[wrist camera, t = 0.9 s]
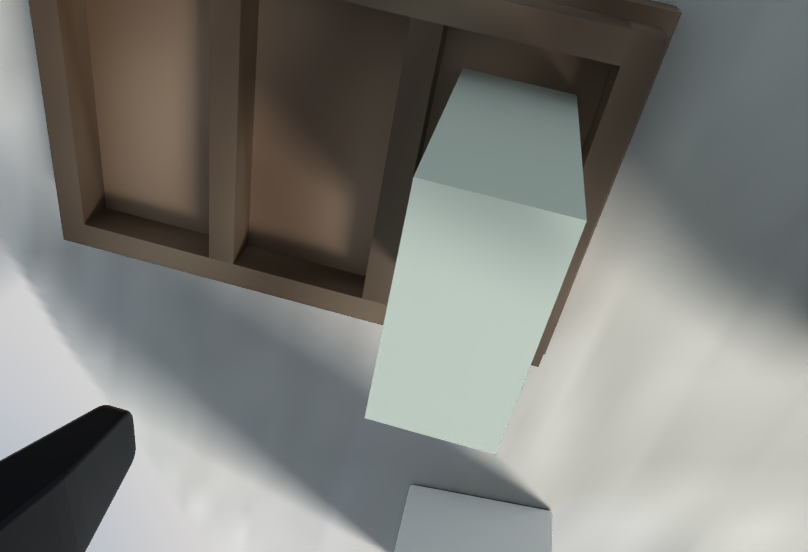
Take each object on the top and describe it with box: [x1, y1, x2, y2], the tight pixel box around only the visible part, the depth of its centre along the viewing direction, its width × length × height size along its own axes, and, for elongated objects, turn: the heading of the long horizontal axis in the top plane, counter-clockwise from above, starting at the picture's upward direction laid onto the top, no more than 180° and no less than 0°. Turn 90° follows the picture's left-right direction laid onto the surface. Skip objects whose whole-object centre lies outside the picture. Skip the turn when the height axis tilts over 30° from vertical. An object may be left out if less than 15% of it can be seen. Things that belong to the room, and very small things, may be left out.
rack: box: [29, 0, 681, 367], centre depth 18 cm, size 16×11×4 cm, turn 80°
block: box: [365, 68, 587, 455], centre depth 15 cm, size 3×6×7 cm, turn 170°
